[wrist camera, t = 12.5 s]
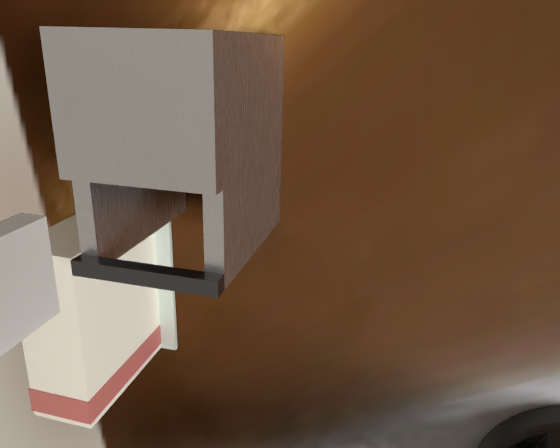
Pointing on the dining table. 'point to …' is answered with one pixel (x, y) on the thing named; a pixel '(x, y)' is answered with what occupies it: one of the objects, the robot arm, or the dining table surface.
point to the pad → (165, 296)
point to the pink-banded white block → (90, 336)
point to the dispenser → (167, 144)
